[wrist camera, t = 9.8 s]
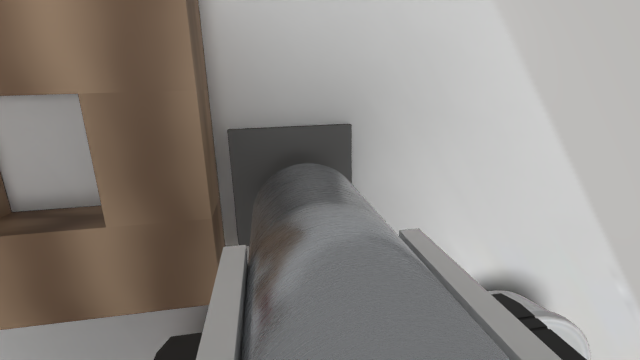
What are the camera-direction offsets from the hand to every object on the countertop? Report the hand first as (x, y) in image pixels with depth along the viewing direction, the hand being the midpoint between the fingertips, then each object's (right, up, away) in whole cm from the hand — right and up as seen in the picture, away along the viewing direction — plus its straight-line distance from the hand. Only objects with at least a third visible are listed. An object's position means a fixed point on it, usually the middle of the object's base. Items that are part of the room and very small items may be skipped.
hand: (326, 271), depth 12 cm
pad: (-2, +3, +11) cm, 12 cm away
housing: (-16, +5, +8) cm, 19 cm away
